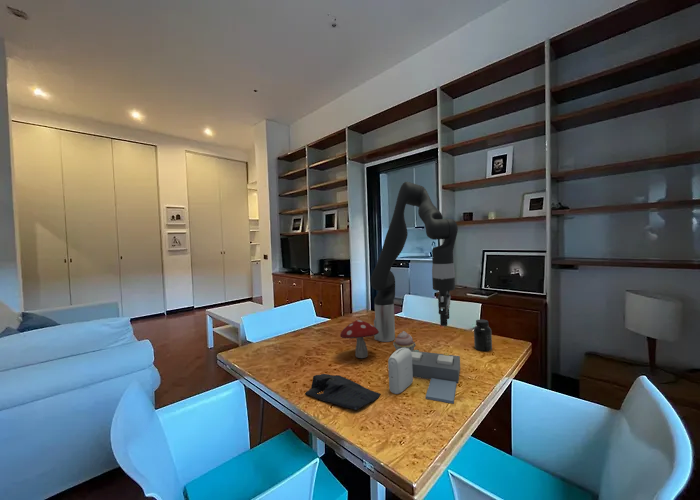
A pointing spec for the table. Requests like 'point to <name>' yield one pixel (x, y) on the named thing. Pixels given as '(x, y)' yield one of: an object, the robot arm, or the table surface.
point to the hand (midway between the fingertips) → (445, 322)
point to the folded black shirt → (341, 391)
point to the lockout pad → (441, 390)
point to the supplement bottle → (482, 336)
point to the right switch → (445, 360)
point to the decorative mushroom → (359, 335)
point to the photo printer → (400, 370)
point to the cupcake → (404, 341)
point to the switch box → (436, 367)
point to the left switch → (416, 356)
